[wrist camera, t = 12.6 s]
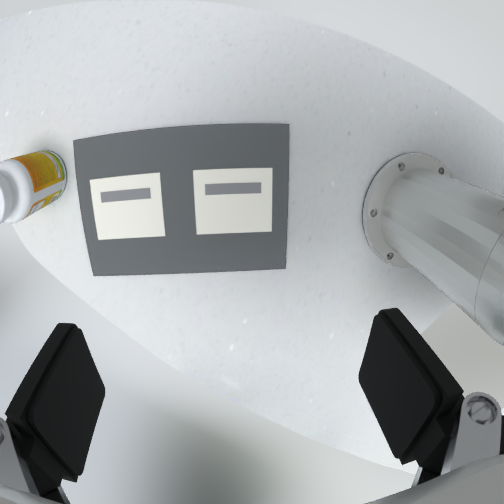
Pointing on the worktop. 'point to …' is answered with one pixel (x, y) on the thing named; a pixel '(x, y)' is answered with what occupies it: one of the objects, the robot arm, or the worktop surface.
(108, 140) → the label mat
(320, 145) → the worktop surface
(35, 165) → the supplement bottle
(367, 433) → the worktop surface
